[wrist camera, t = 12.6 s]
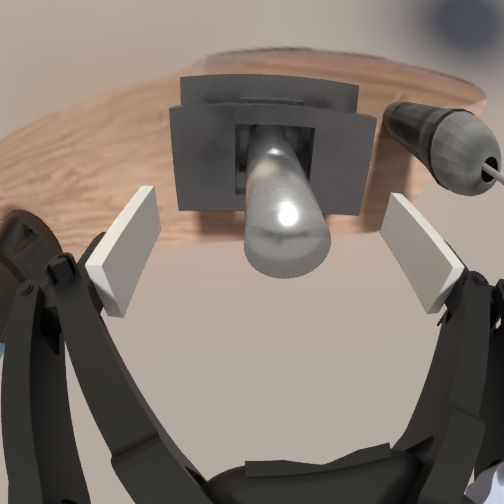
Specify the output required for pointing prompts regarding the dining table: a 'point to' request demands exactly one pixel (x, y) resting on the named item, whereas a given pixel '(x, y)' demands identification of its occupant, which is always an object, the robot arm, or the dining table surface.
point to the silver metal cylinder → (280, 209)
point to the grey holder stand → (268, 113)
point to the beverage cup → (448, 145)
